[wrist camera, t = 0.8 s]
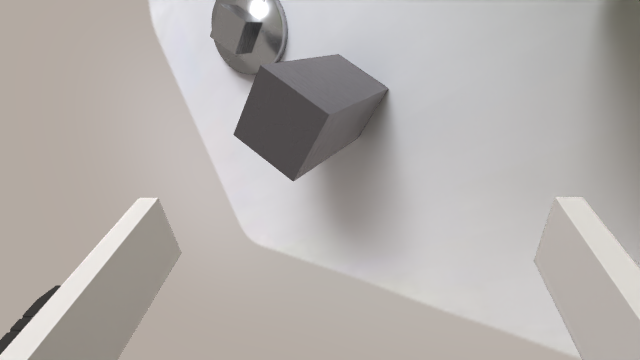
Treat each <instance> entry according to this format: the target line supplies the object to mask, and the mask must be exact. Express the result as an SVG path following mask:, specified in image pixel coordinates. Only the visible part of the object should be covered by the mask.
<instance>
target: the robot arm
mask: <svg viewBox="0 0 640 360" xmlns="http://www.w3.org/2000/svg"><path fill="white" fill-rule="evenodd" d="M180 255H181V250H180V248H179V246H178V243H177V241H176V239H175V236H174V234H173V231H172V229H171V227H170V224H169V222H168V220H167V217H166V215H165V213H164V210H163V208H162V206H161V203H160V201H159V199H158V198H138V200H137V201H136V202H135V203H134V204H133V205H132V206H131V208H130V209H129V210H128V211H127V212H126V213H125V214H124V215H123V217H122V218H121V219H120V220H119V221H118V222H117V223H116V225H115V226H114V227H113V228H112V229H111V230H110V231H109V232H108V233H107V235H106V236H105V237H104V238H103V239H102V240H101V241H100V243H99V244H98V245H97V246H96V247H95V248H94V249H93V251H92V252H91V253H90V254H89V255H88V256H87V257H86V258H85V260H84V261H83V262H82V263H81V264H80V265H79V266H78V267H77V269H76V270H75V271H74V272H73V273H72V274H71V275H70V276H69V278H68V279H67V280H66V281H65V282H64V283H63V284H62V286H55V287H54V288H53V289H51V290H50V291H48V292H47V293H46V294H44V295H43V296H41V297H40V298H39V299H37V301H36V302H35V303H34V304H33V305H32V306H31V307H30V308H29V309H28V310H27V311H26V313H25V314H24V315H23V318H22V319H19V320H18V321H17V322H16V323H15V325H14V326H13V327H12V328H11V329H10V332H9V333H6V335H5V336H4V337H3V338H2V339H1V340H0V360H118V358H119V357H120V355H121V353H122V352H123V350H124V348H125V347H126V345H127V343H128V342H129V340H130V338H131V337H132V335H133V333H134V332H135V330H136V328H137V327H138V325H139V323H140V322H141V320H142V318H143V316H144V315H145V313H146V312H147V310H148V308H149V307H150V305H151V303H152V302H153V300H154V298H155V296H156V295H157V293H158V291H159V290H160V288H161V286H162V285H163V283H164V282H165V280H166V278H167V277H168V275H169V273H170V271H171V270H172V268H173V266H174V265H175V263H176V261H177V260H178V258H179V256H180ZM534 262H535V264H536V266H537V268H538V270H539V272H540V274H541V276H542V279H543V281H544V283H545V285H546V287H547V289H548V291H549V293H550V295H551V297H552V299H553V301H554V303H555V305H556V307H557V309H558V311H559V313H560V315H561V317H562V319H563V321H564V323H565V325H566V327H567V329H568V332H569V334H570V336H571V338H572V340H573V342H574V344H575V346H576V348H577V350H578V352H579V354H580V356H581V358H582V360H640V269H639V267H638V266H637V265H636V264H635V262H634V261H633V260H632V259H631V257H630V256H629V255H628V254H627V252H626V251H625V250H624V248H623V247H622V246H621V245H620V243H619V242H618V241H617V240H616V238H615V237H614V236H613V235H612V233H611V232H610V231H609V230H608V228H607V227H606V226H605V225H604V223H603V222H602V221H601V220H600V218H599V217H598V216H597V214H596V213H595V212H594V211H593V209H592V208H591V207H590V206H589V204H588V203H587V202H586V201H585V199H584V198H583V197H555V198H554V201H553V204H552V207H551V210H550V213H549V216H548V219H547V222H546V225H545V228H544V231H543V234H542V237H541V241H540V244H539V247H538V250H537V253H536V256H535V259H534Z"/></svg>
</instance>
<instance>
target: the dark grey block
mask: <svg viewBox="0 0 640 360" xmlns="http://www.w3.org/2000/svg"><path fill="white" fill-rule="evenodd" d="M387 90H388V88H387V87H386V86H384V85H383V84H381V83H380V82H378V81H377V80H375V79H374V78H373V77H371V76H370V75H368V74H367V73H365V72H364V71H362V70H361V69H359V68H358V67H356V66H355V65H353V64H352V63H350V62H349V61H348V60H346V59H345V58H343V57H342V56H340V55H339V54H337V55H330V56H323V57H315V58H308V59H301V60H293V61H286V62H279V63H271V64H264V65H260V67H259V70H258V72H257V75H256V78H255V80H254V83H253V85H252V88H251V91H250V93H249V96H248V98H247V101H246V104H245V106H244V109H243V111H242V114H241V117H240V119H239V122H238V124H237V127H236V130H235V132H234V136H236V137H237V138H238V139H240V140H241V141H242V142H243V143H245V144H246V145H247V146H249V147H250V148H251V149H252V150H254V151H255V152H256V153H257V154H259V155H260V156H261V157H263V158H264V159H265V160H266V161H268V162H269V163H270V164H272V165H273V166H274V167H275V168H277V169H278V170H279V171H280V172H282V173H283V174H284V175H286V176H287V177H288V178H289V179H291V180H292V181H295V180H296V179H298V178H299V177H301V176H302V175H304V174H305V173H307V172H308V171H310V170H311V169H313V168H314V167H316V166H317V165H319V164H320V163H322V162H323V161H324V160H326V159H327V158H329V157H330V156H332V155H333V154H335V153H336V152H338V151H339V150H341V149H342V148H344V147H345V146H347V145H348V144H350V143H351V142H353V141H354V140H356V139H357V138H358V137H359V135H360V133H361V132H362V130H363V129H364V127H365V125H366V124H367V122H368V121H369V119H370V117H371V116H372V114H373V113H374V111H375V109H376V108H377V106H378V104H379V103H380V101H381V100H382V98H383V96H384V95H385V93H386V92H387Z"/></svg>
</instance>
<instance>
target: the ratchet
mask: <svg viewBox="0 0 640 360" xmlns="http://www.w3.org/2000/svg"><path fill="white" fill-rule="evenodd" d="M287 33H288V29H287V20H286V16H285V12H284V10H283V7H282V5H281V3H280V1H279V0H216V2H215V5H214V8H213V13H212V31H211V35H210V37H211V38H213V39H214V42H215V45H216V47H217V49H218V51H219V53H220V55H221V57H222V58H223V59H224V61H225V62H226V63H227V64H228V65H229V66H230V67H232V68H233V69H235V70H236V71H238V72H241V73H245V74H255V73H257V72H258V70H259V67H260V65H264V64H271V63H277V62H278V61H279V60H280V58H281V56H282V54H283V52H284V50H285V46H286V42H287Z"/></svg>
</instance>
